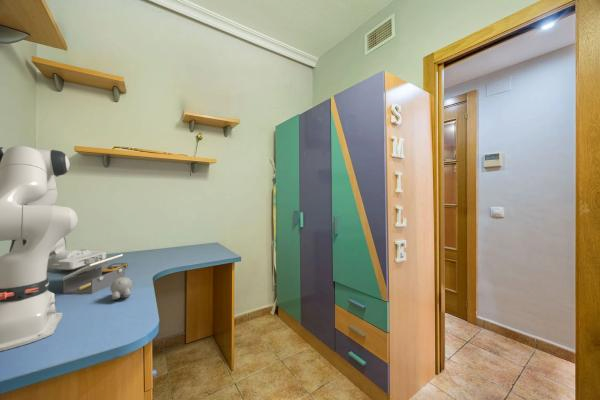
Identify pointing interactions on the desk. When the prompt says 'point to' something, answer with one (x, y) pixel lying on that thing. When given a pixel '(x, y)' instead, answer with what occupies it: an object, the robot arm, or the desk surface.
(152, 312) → the desk surface
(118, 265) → the electronic device
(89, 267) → the cover
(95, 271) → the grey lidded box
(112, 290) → the grey toy animal
